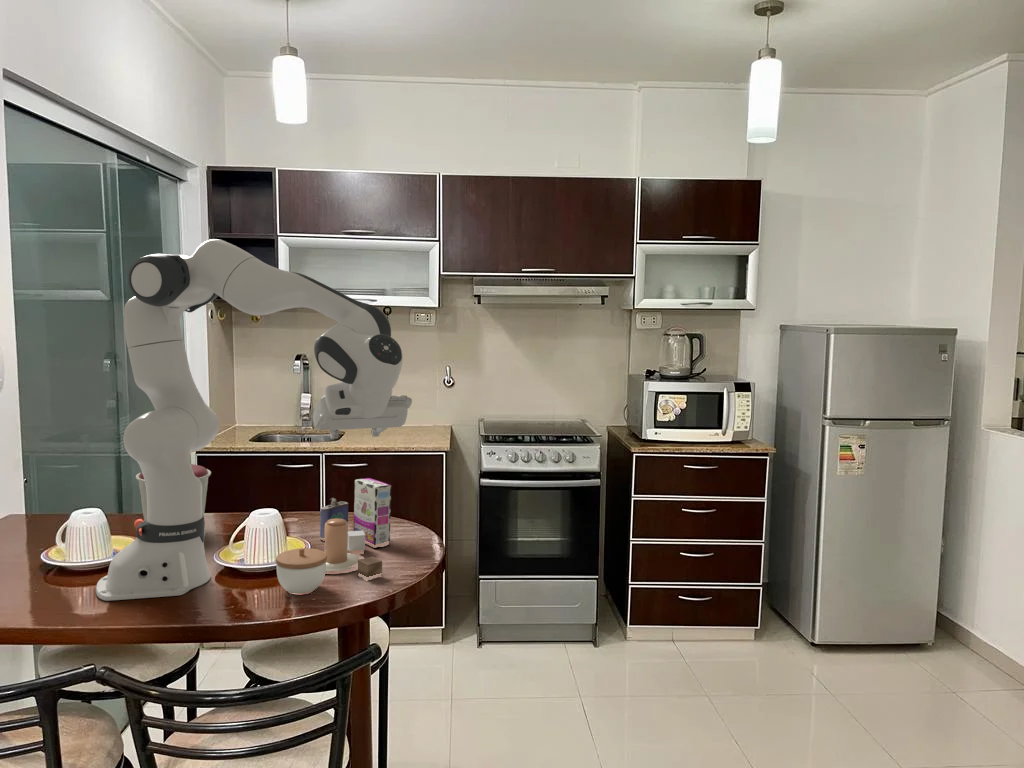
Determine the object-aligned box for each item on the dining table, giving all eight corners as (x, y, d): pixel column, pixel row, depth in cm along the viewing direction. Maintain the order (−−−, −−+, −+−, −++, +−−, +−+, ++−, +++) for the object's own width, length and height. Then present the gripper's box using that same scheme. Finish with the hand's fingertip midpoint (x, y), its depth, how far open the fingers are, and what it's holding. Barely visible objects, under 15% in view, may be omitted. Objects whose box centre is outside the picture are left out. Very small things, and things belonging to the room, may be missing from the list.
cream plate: (313, 578, 166) (313, 573, 166) (300, 559, 178) (300, 554, 178) (372, 569, 173) (372, 565, 173) (356, 552, 185) (356, 547, 185)
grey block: (348, 555, 182) (349, 536, 182) (347, 550, 186) (347, 531, 186) (364, 554, 184) (365, 535, 183) (362, 549, 187) (363, 530, 187)
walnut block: (367, 581, 165) (367, 564, 165) (357, 576, 168) (357, 560, 168) (381, 577, 168) (382, 561, 168) (372, 572, 171) (372, 556, 171)
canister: (159, 523, 203) (158, 448, 201) (222, 526, 203) (222, 451, 201) (122, 543, 185) (120, 462, 183) (191, 546, 185) (191, 465, 183)
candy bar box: (391, 546, 191) (392, 484, 189) (374, 549, 187) (375, 487, 186) (368, 535, 199) (369, 476, 197) (352, 538, 195) (353, 479, 194)
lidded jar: (274, 601, 152) (274, 558, 151) (276, 582, 163) (277, 542, 162) (327, 598, 155) (327, 555, 154) (326, 579, 165) (326, 539, 165)
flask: (324, 542, 192) (324, 502, 191) (316, 540, 193) (317, 500, 192) (350, 534, 199) (350, 496, 198) (342, 532, 201) (343, 494, 200)
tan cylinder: (327, 564, 172) (328, 525, 171) (321, 557, 176) (322, 519, 175) (350, 561, 174) (350, 522, 173) (343, 554, 179) (344, 516, 178)
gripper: (410, 384, 161) (395, 422, 170) (318, 386, 151) (306, 425, 161) (417, 407, 157) (401, 444, 167) (323, 410, 148) (311, 449, 157)
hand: (354, 435), depth 164 cm, fingers open, 8 cm apart
